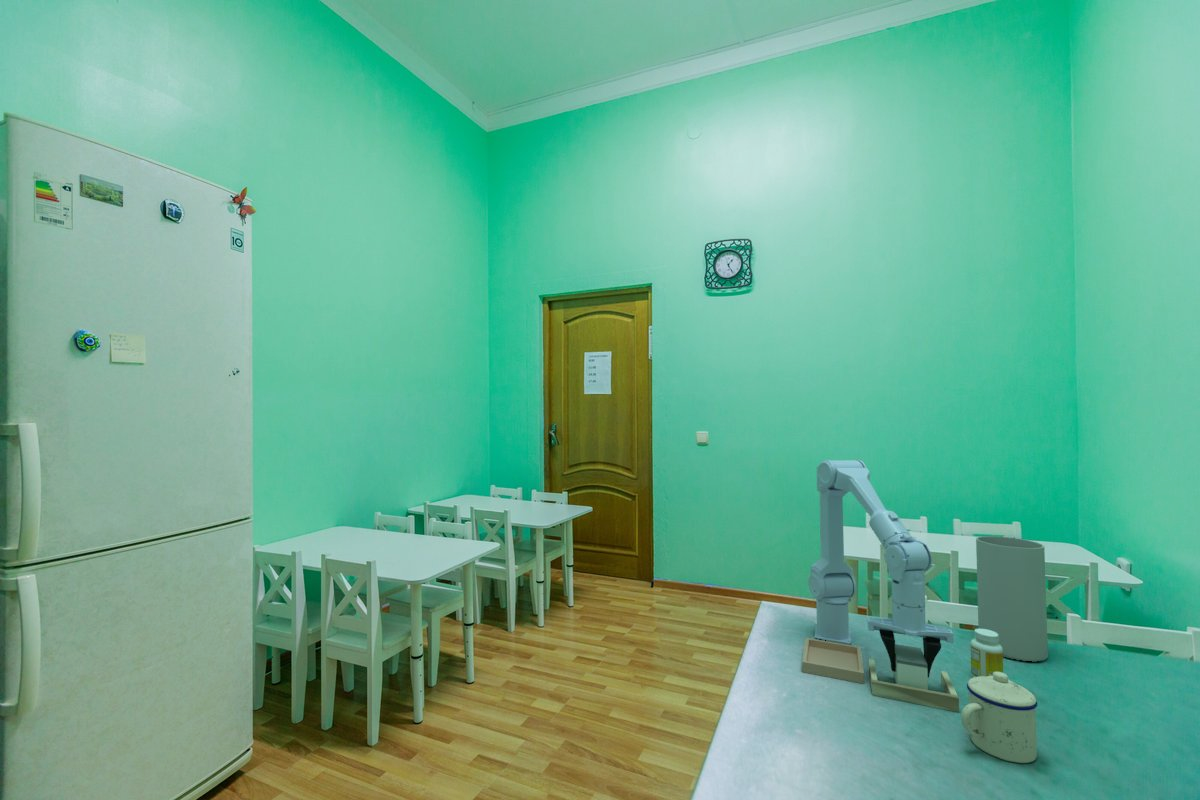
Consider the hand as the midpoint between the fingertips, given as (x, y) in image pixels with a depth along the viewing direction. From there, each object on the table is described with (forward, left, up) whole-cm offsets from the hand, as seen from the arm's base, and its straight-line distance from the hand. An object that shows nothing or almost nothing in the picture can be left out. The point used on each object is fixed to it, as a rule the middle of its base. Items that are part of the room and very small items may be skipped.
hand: (909, 672), depth 102 cm
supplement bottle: (-11, +15, -3) cm, 19 cm away
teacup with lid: (+16, +10, -3) cm, 19 cm away
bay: (0, 0, -3) cm, 3 cm away
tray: (-5, -14, -3) cm, 15 cm away
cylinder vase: (-30, +24, -3) cm, 39 cm away
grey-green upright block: (0, 0, -2) cm, 2 cm away
